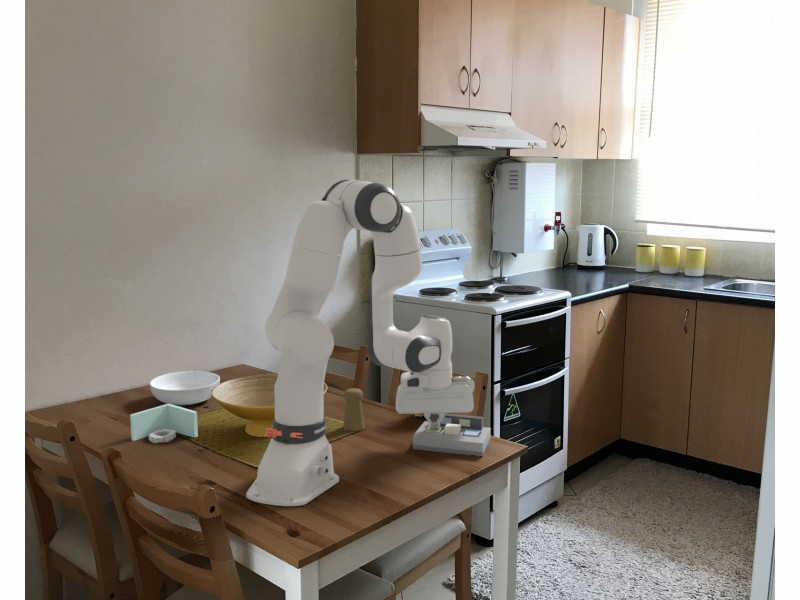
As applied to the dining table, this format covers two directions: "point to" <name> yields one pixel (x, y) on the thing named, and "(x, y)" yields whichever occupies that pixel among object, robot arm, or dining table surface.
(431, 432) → the green key
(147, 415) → the l-shaped corner panel
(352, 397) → the olive pepper shaker
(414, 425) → the dining table surface
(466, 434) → the blue key
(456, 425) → the cream key
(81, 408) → the dining table surface
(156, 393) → the serving bowl
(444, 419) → the keypad
